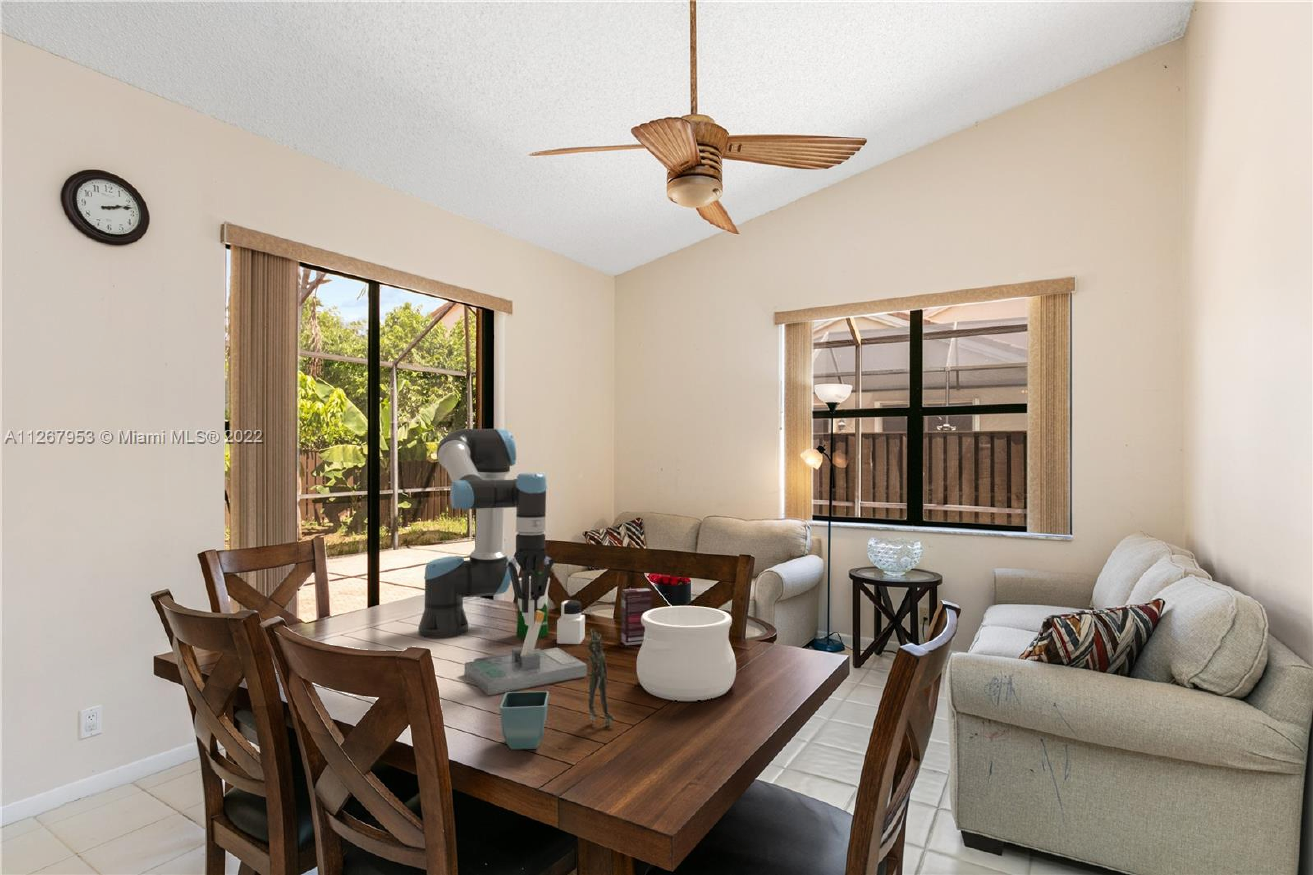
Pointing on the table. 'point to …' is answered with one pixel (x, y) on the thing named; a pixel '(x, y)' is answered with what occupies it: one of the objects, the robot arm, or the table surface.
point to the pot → (686, 653)
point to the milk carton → (541, 606)
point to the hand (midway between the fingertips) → (529, 624)
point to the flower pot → (523, 718)
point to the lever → (532, 634)
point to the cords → (499, 656)
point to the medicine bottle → (571, 623)
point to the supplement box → (634, 614)
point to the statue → (598, 676)
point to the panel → (524, 670)
